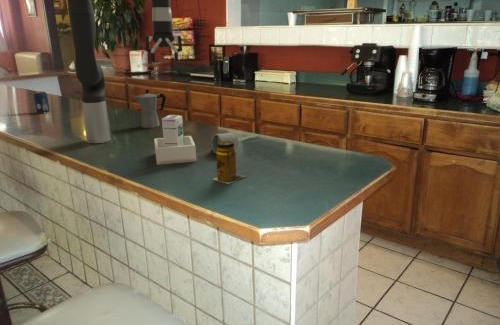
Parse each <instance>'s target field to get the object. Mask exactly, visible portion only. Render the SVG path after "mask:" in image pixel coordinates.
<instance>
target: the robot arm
mask: <svg viewBox="0 0 500 325" xmlns="http://www.w3.org/2000/svg"><path fill="white" fill-rule="evenodd" d="M151 7H152V9H151V10H152V11H151V19H152V33H153V35H152V36H151V35H150V36H149V35H145V51H146V52H148V53H150V60H151V62H152V63H153V64H155V63H156V59H155V58H156V57H155V51H156V50H157V48H158V47H160V48H169V47H170V48H171V49H172V51H173V52H174V53H173V60H174V63H176V64H177V62H178V60H179V53H180V52H182V51H183V44H182V37H181V35H177V36H176V35H174V32H173V18H172V17H173V16H172V15H173V14H172V9H171V0H151ZM67 8H68V17H69V24H70V30H71V35H72V41H73V46H74V52H75V54H74V55H75V56H74V58H75V74H76V75H75V76H76V79H77V80H78V82H79V83H80V84H81V89H82V91H81V92H82V93H81V103H82V109H83V116H84V117H83V118H84V120H83V122H84V131H85V135H86V136H85V137H86V141H87V144H101V143H102V144H103V143H108V142H110V141H111V132H110V124H109V116H108V109H107V108H108V107H107V100H106V85H105V75H104V70H103V68H102V66H101V65H100V64H99V63H98V62H97V59H96V52H95V45H96V44H95V43H96V33H97V27H96V16H95V10H94V6H93V3H92V0H67ZM152 40H153V42H154V43H155V44H154V45H153V46H152V48H150V42H151V41H152ZM173 41H176V42H177V44H178V46H177V47H178V48H176V47H175V45H174V44H173Z"/></svg>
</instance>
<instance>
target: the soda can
mask: <svg viewBox="0 0 500 325" xmlns="http://www.w3.org/2000/svg"><path fill="white" fill-rule="evenodd" d="M33 99H34V104H35V109H36V112H37V114H39V113H44V112H49V113H50V111H51V108H50V104H49V98H48V94H47V93H46V91H35V92H34V94H33Z"/></svg>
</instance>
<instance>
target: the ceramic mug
mask: <svg viewBox="0 0 500 325" xmlns="http://www.w3.org/2000/svg"><path fill="white" fill-rule="evenodd" d="M238 140H239V139H238V137H237V135H236V134H235V133H233V132H226V133H224V132H223V133H215V134H213V136H212V138H211V146H212V147H211V148H212V150H213V152H214V153H215V154H216V153H217V151H218V150H217V144H218V143H219V142H222V141H230V142H233V143H234V150H235V151H236V150H237V149H238V146H239V141H238Z"/></svg>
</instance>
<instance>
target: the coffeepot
mask: <svg viewBox="0 0 500 325" xmlns="http://www.w3.org/2000/svg"><path fill="white" fill-rule="evenodd" d="M160 98H162V99H161V104H160V108H158V111H163V110H164V107H165V104H166V100H167V96H166V95H165V94H164V93H155V94H153V93H149V89H145V93H143V94H139V95H136V96H134V97H133V99H134V100H136V102H137V103H138V104H139V107H140V110H141V116H140V117H141V120H140V122H141V123H140V127H141V128H143V129H153V128H154V129H155V128H158V127H159V126H160V124H161V123H160V121H159V117H158V113H157V111H156V110H157V107H158V106H157V105H158V99H160Z"/></svg>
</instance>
